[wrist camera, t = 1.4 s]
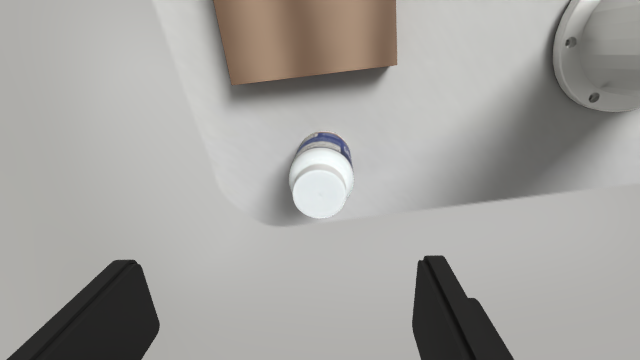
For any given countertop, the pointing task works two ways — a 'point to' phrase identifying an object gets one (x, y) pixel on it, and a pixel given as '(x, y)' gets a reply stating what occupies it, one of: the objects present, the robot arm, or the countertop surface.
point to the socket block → (305, 37)
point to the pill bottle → (321, 175)
